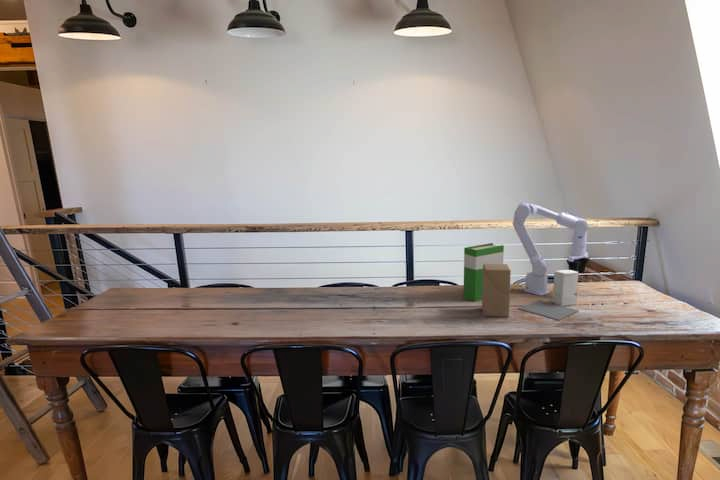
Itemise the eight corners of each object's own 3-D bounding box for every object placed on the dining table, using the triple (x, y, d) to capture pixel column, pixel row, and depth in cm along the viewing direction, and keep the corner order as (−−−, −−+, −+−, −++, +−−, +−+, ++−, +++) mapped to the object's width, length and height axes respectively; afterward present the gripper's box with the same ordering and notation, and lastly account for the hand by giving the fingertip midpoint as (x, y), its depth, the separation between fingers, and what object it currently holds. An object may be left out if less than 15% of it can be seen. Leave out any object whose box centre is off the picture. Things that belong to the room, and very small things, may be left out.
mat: (518, 309, 187) (518, 308, 186) (539, 300, 196) (539, 300, 196) (558, 320, 172) (558, 319, 172) (578, 311, 182) (579, 310, 182)
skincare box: (561, 306, 188) (563, 273, 185) (551, 302, 193) (553, 270, 191) (577, 304, 190) (579, 271, 187) (566, 300, 196) (568, 268, 193)
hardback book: (490, 290, 212) (491, 243, 208) (502, 294, 206) (503, 245, 202) (463, 297, 204) (464, 247, 199) (474, 301, 197) (476, 250, 193)
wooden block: (509, 317, 177) (510, 270, 174) (483, 316, 179) (485, 269, 176) (505, 308, 187) (507, 264, 183) (481, 308, 189) (482, 263, 185)
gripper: (580, 249, 190) (578, 278, 192) (595, 244, 198) (593, 273, 201) (564, 246, 195) (562, 275, 198) (580, 242, 204) (578, 270, 206)
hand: (577, 274), depth 200 cm, fingers open, 6 cm apart
